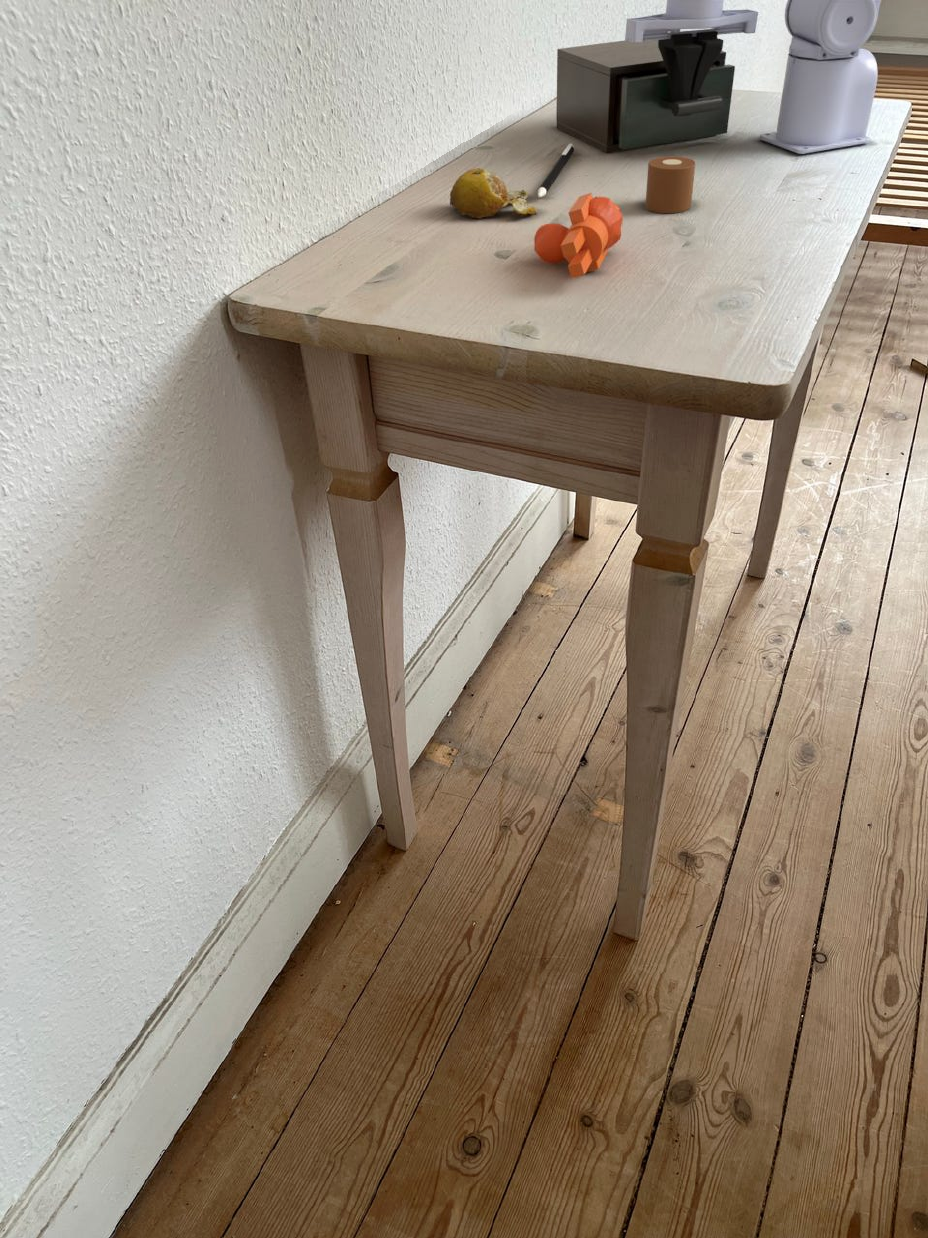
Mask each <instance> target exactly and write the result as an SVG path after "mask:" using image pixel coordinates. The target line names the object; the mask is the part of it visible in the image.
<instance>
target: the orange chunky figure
mask: <svg viewBox="0 0 928 1238" xmlns="http://www.w3.org/2000/svg"><path fill="white" fill-rule="evenodd" d="M621 211H622V210H621V208H620V207H619V206H618V204H616V203H614V202H613V201H612V200H611V199H610V198H609V197H606V196H594V197H593V193H592V192H590V193H586V194H583V195H580V196H578V197H577V199H576V201H575V202H574V203H573V205H572V206H571V208H570V210H569V211H568V216H569V219H570V223H571V225H570V227H567V226H565V225H563V224H561V223H553V222H552V223H551V222H550V223H545V224H542V225H541V226H539V227H538V229H537V230H536V231H535V234H534V239H533V243H534V252H535V253H536V255H537V256H538V257H539V259H540V260H542V261H543V262H545V263H547V264H550V265H557V264H561V263H564V262H566V261H567V262H568V265H567V268H568V271H569V275H570V278H571V279H574V278H578V277H581V276H585V274H586V273H589V272H593V271H596V270H599V269H600V268H601V265H602V263H603V262H604V259H605V258H606V256H607V254H608V252H609V249H611V248H613V246H615V244H617V243H618V242H619V240H621V237H622V225H623V220H624V219H623V212H621Z"/></svg>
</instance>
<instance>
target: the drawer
mask: <svg viewBox="0 0 928 1238" xmlns="http://www.w3.org/2000/svg"><path fill="white" fill-rule="evenodd" d="M735 70H736V66H735V65H733V64H725V65H722V66H717V65H714V64H713V65H712V67H711V68H710V70H709V72H708V74H707V76H706V78H705V80H704V82H703V85H702V87H701V89H700V92H699V95H698V97H697V99H691V100H684V101H677V102H672V101H671V94H670V86H669V81H668V76H667V71H666V68H664V69H657V70H650V71H642V72H635V73H628V74H620V75H616V91H615V111H614V131H613V138H614V139H616V140H618V141H619V148H622V149H624V150H623V151H626V150H625V149H629V150H632V149H631V148H635V149H638V148H637V147H642V148H644V147H643V146H648V147H651V146H650V145H654V146H657V145H656V144H660V145H663V144H662V143H667V144H670V143H669V142H673V143H676V142H675V141H679V142H682V141H681V140H685V141H688V140H687V139H692V140H695V139H694V138H698V139H701V138H700V137H704V138H707V137H706V136H711V137H714V136H713V135H716V136H718V135H725V134H728V128H729V119H730V112H731V103H732V95H733V87H734V80H735V79H734V77H735V72H736V71H735ZM672 111H673V113H672ZM689 114H692V115H689ZM682 115H688V116H682Z"/></svg>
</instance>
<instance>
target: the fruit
mask: <svg viewBox="0 0 928 1238" xmlns="http://www.w3.org/2000/svg"><path fill="white" fill-rule="evenodd" d="M449 197H450V198H449V205H450V206H452V207H453V208H455V209H457V211H458V212H459V213H460V214H461V216H464V215H468V216H470V217H471V218H476V219H479V220H482V218H488V217H490V218H493V217H494V216H495V215H496V214H497V213H498V211H499V210H500V209H502V208H505V207H506V206H508V205H509V204H511V205H512V210H513V212H514V213H515V214H516V216H517V217H518V218H521V216H525V215H527V214H529V215H535V214H537V213H538V211H537V209H536V208H535V207H534V206H533V205H532V206H529V205H528V202H527V198H528V193H527V192H526V191H525V190H524V189H522V190H514V191H509V192H508V189H507V186H506V184H505V182H504V180H503V179H502V178H500V177H499V176H498V175H496V174H495V172H491V171H487V170H486V169H484V168H480V167H478V168H477V167H476V168H471V169H468V170H467V171H465V172H464V173H463V174H461V175H460V176H459V177H458V178H457V179H456V181H455V183H454V184H453V186H452V189H451V191H450V194H449Z"/></svg>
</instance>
